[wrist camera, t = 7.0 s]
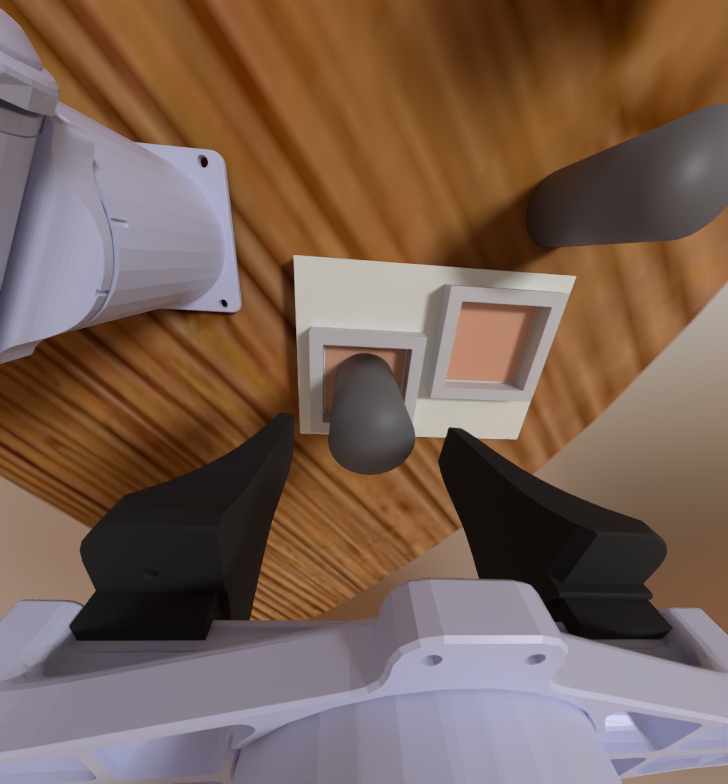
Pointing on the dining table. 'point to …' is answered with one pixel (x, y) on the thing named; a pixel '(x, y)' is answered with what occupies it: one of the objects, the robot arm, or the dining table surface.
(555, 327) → the board
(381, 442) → the peg
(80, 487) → the dining table surface
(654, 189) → the peg
